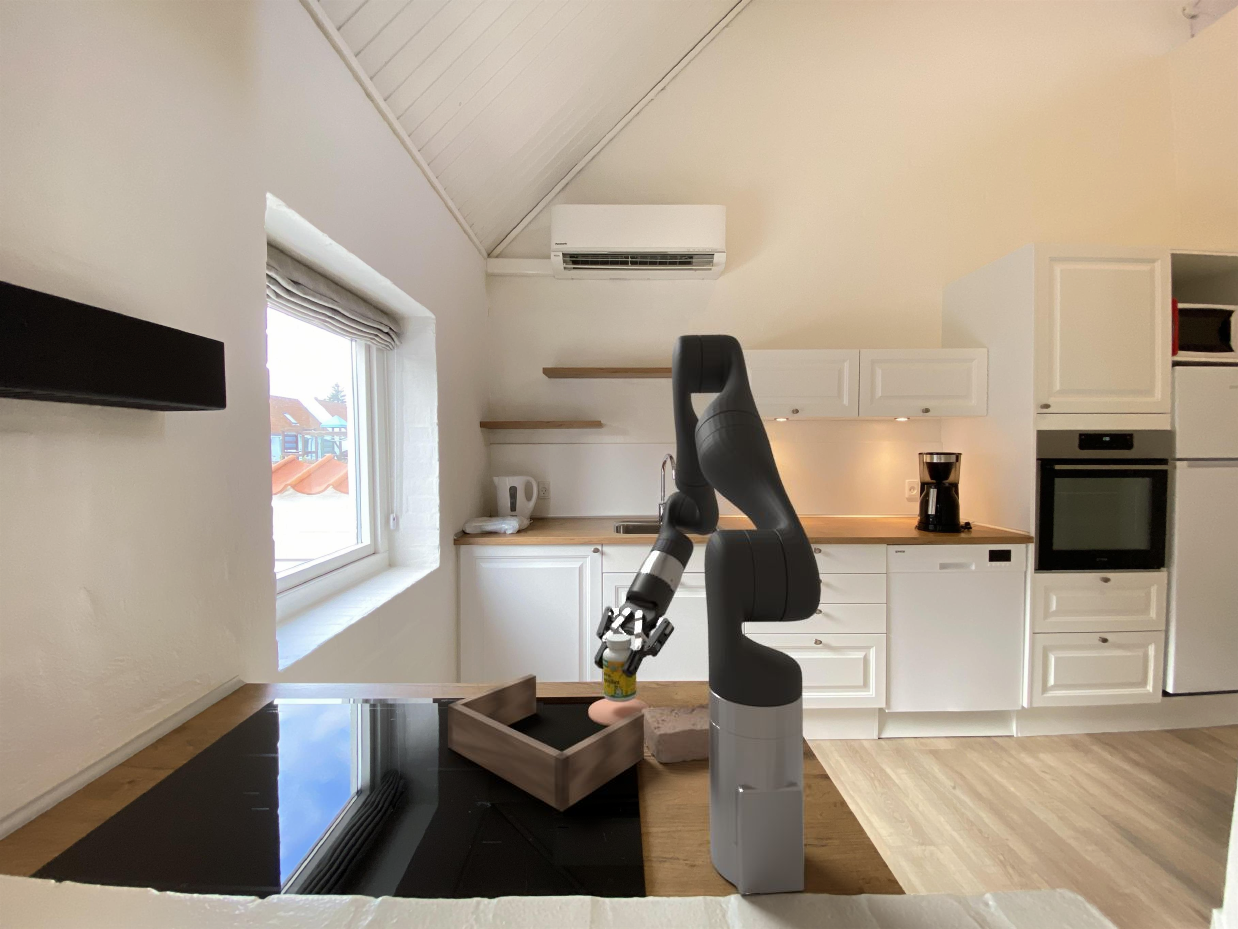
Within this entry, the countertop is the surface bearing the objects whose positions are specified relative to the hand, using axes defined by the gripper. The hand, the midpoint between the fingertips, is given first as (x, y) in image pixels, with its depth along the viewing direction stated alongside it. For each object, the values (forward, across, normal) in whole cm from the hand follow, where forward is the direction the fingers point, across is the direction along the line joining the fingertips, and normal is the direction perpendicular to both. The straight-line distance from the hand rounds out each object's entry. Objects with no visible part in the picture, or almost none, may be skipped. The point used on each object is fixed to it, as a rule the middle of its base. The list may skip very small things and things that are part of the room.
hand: (612, 670), depth 88 cm
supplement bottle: (+2, 0, +5) cm, 5 cm away
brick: (+4, +16, +7) cm, 17 cm away
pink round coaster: (+4, 0, +6) cm, 7 cm away
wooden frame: (+15, 0, -5) cm, 16 cm away
